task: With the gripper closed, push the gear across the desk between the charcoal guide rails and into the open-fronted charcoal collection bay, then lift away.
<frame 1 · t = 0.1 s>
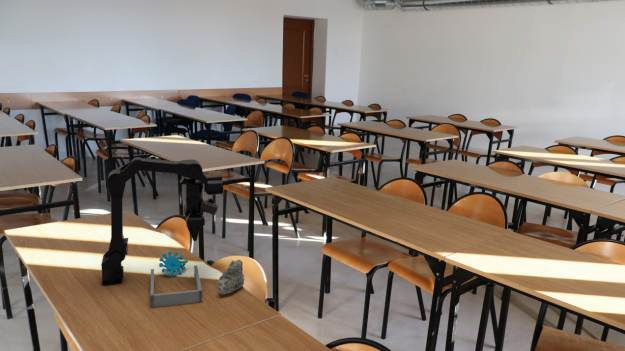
hand: (194, 236, 169), 15 cm above the table, tool pointing down, fingers open, 9 cm apart
collection bay: (175, 290, 159), on the table
gear: (174, 273, 172), on the table
mineral rock: (229, 288, 163), on the table
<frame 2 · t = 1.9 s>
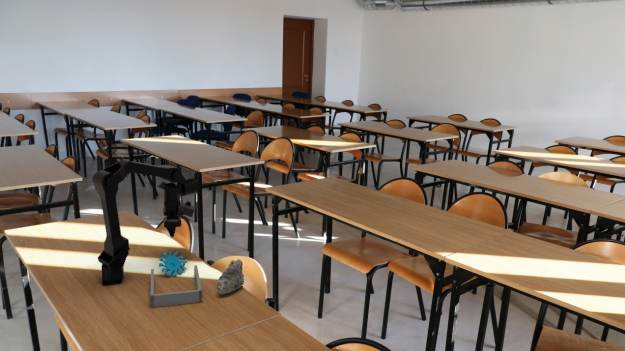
hand: (172, 236, 180), 10 cm above the table, tool pointing down, fingers closed
nothing on the table moved.
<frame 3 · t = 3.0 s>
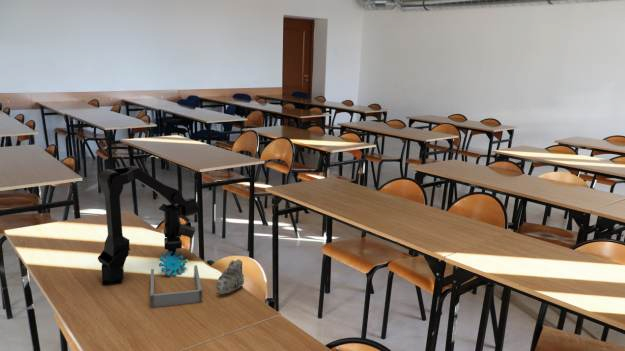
hand: (172, 257, 182), 1 cm above the table, tool pointing down, fingers closed
nothing on the table moved.
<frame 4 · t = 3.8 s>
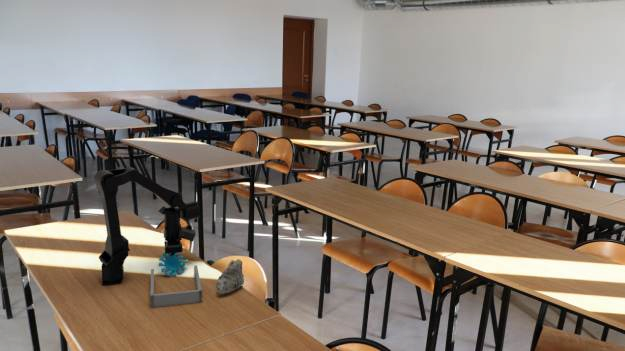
hand: (173, 261, 178), 1 cm above the table, tool pointing down, fingers closed
gear: (173, 272, 173), on the table, touching gripper
everything else where it was.
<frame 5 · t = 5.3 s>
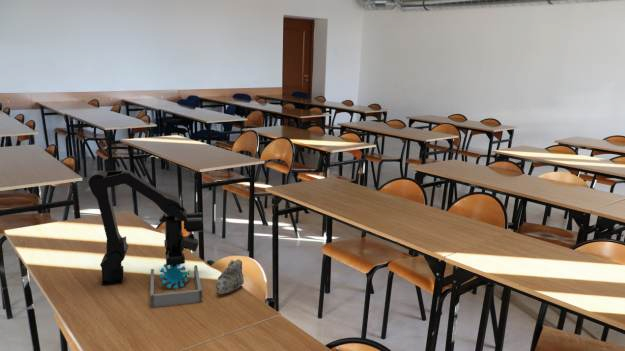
hand: (174, 272, 169), 2 cm above the table, tool pointing down, fingers closed
gear: (175, 285, 163), on the table, touching gripper
everything else where it was.
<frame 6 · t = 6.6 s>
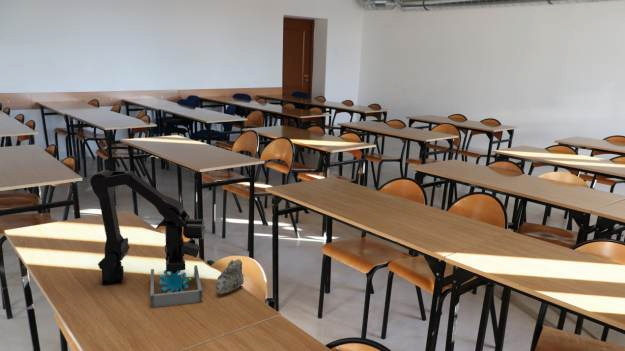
hand: (175, 278, 164), 2 cm above the table, tool pointing down, fingers closed
gear: (175, 292, 159), on the table, touching gripper
everything else where it was.
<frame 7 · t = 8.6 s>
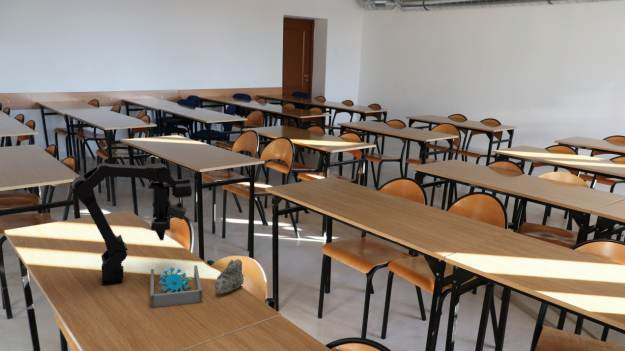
hand: (161, 240, 169), 13 cm above the table, tool pointing down, fingers closed
gear: (175, 292, 159), on the table
everything else where it was.
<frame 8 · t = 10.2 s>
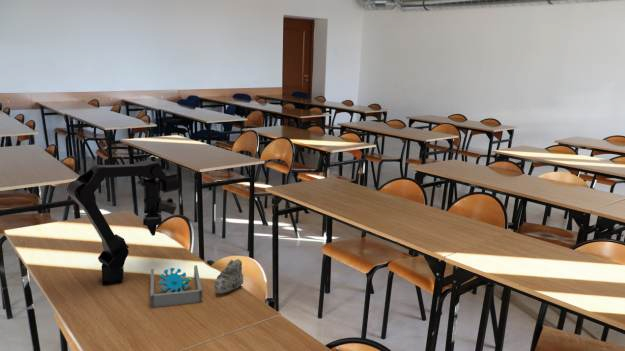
hand: (153, 235, 172), 13 cm above the table, tool pointing down, fingers closed
nothing on the table moved.
at the end: gear inside the target area (0.1 cm from its centre), on the table; gear tilted 0° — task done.
